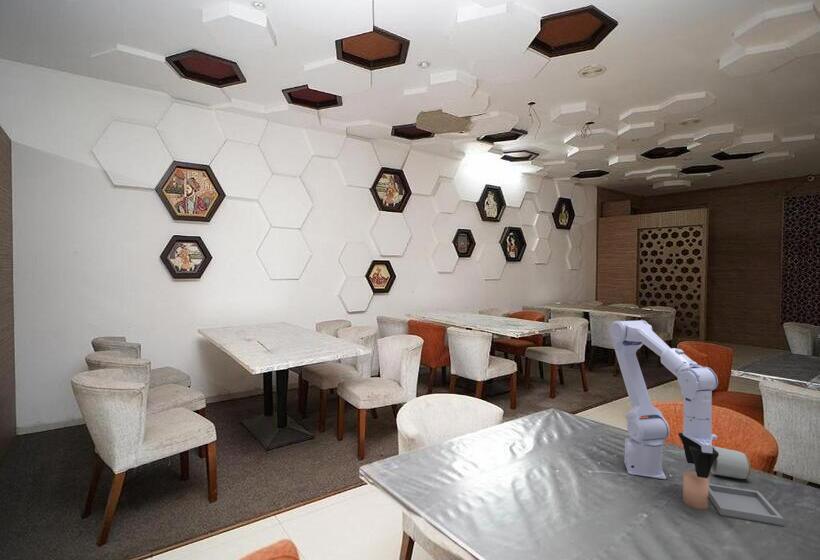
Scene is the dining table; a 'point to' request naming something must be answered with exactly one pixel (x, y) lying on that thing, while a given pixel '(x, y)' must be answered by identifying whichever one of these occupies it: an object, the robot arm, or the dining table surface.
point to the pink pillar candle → (695, 490)
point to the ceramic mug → (731, 464)
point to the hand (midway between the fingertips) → (697, 469)
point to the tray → (743, 504)
